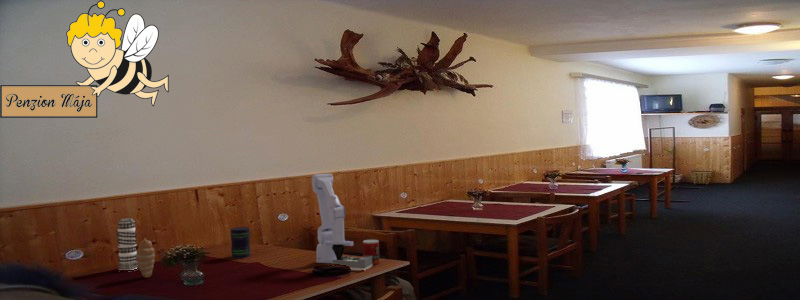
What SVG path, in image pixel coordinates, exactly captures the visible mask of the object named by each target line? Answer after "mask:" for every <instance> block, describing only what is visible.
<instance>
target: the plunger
mask: <svg viewBox="0 0 800 300" xmlns="http://www.w3.org/2000/svg"><path fill="white" fill-rule="evenodd" d="M347 257H349V258H347ZM350 257H351V256H348V255H342V257H341V260H354V258H350Z"/></svg>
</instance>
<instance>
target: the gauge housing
mask: <svg viewBox="0 0 800 300" xmlns="http://www.w3.org/2000/svg"><path fill="white" fill-rule="evenodd" d="M349 257H350V258H354V260H332V262H333V263H332V265H333V264H340V265H346V266H349V267H350V269H351V270H350V271H361V270H364V271H366V269H367V270H368V269H370V268H372V267H373V266H374V265H373V264H372V256H367V255H366V256H364V257H363V256H362V257H357V256H347V258H349Z"/></svg>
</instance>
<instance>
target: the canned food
mask: <svg viewBox="0 0 800 300" xmlns="http://www.w3.org/2000/svg"><path fill="white" fill-rule="evenodd" d="M366 255H367V256H372V264H373V266H377V265H379V264H380V241H379V240H378V239H364V240H363V241H362V257H364V256H366Z"/></svg>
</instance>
